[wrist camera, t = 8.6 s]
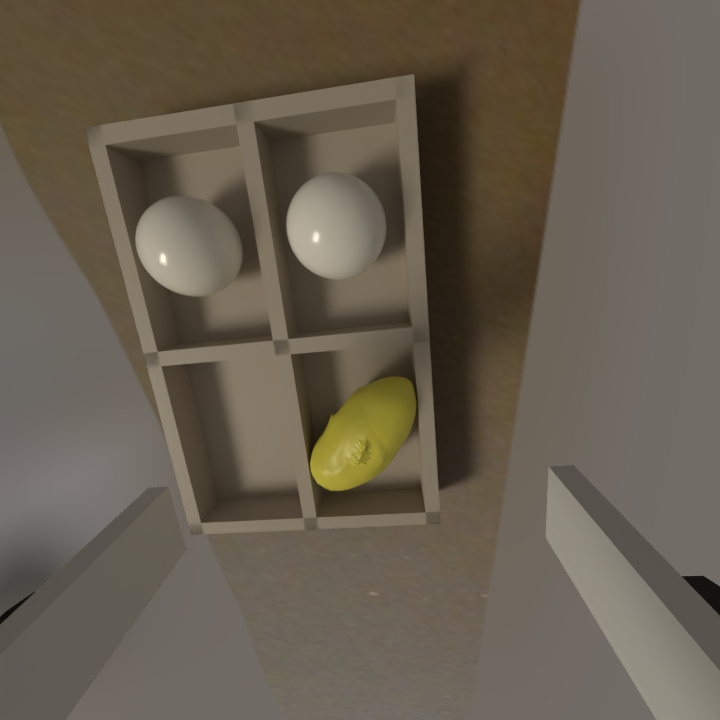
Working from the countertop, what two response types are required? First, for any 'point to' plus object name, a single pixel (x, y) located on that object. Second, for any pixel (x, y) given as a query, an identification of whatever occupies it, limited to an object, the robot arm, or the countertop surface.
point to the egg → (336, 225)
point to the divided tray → (279, 305)
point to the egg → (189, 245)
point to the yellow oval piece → (364, 434)
